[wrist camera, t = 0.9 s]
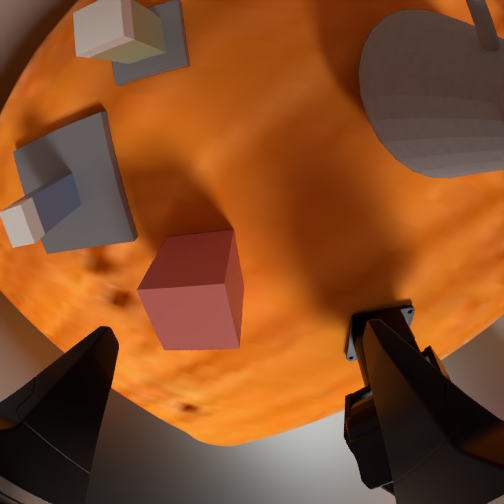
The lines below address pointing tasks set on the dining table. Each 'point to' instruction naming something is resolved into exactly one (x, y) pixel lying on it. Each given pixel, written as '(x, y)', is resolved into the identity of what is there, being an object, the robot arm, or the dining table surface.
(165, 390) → the dining table surface
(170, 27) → the grey base with block
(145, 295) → the red rectangular block
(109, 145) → the grey plate with post
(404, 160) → the coffee pot
